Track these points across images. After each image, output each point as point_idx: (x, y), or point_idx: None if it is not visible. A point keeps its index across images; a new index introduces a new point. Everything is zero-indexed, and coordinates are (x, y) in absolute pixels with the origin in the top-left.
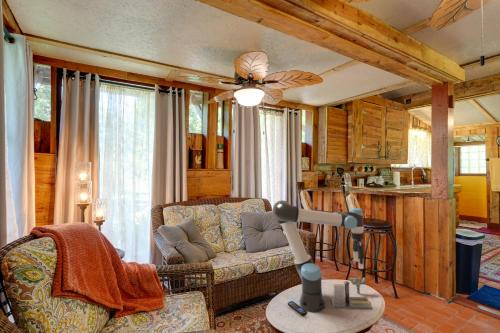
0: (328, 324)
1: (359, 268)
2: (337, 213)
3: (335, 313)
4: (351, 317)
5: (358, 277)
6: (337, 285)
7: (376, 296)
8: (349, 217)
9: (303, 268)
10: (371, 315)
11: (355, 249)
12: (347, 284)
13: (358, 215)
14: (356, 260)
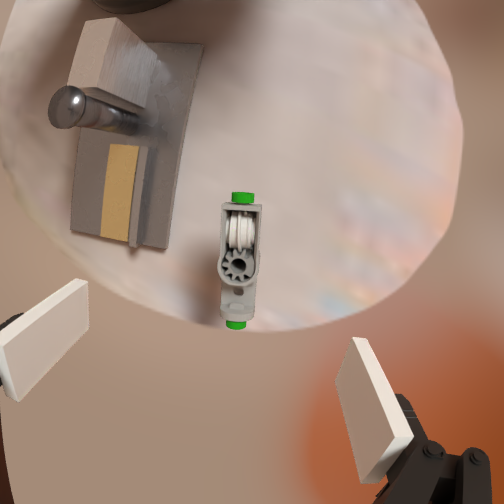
0: (18, 28)
1: (74, 283)
2: None
3: (64, 52)
4: (30, 112)
5: (249, 279)
6: (85, 43)
7: (198, 318)
8: None
9: None
10: (34, 201)
11: (381, 499)
12: (52, 109)
13: None
14: (345, 372)
